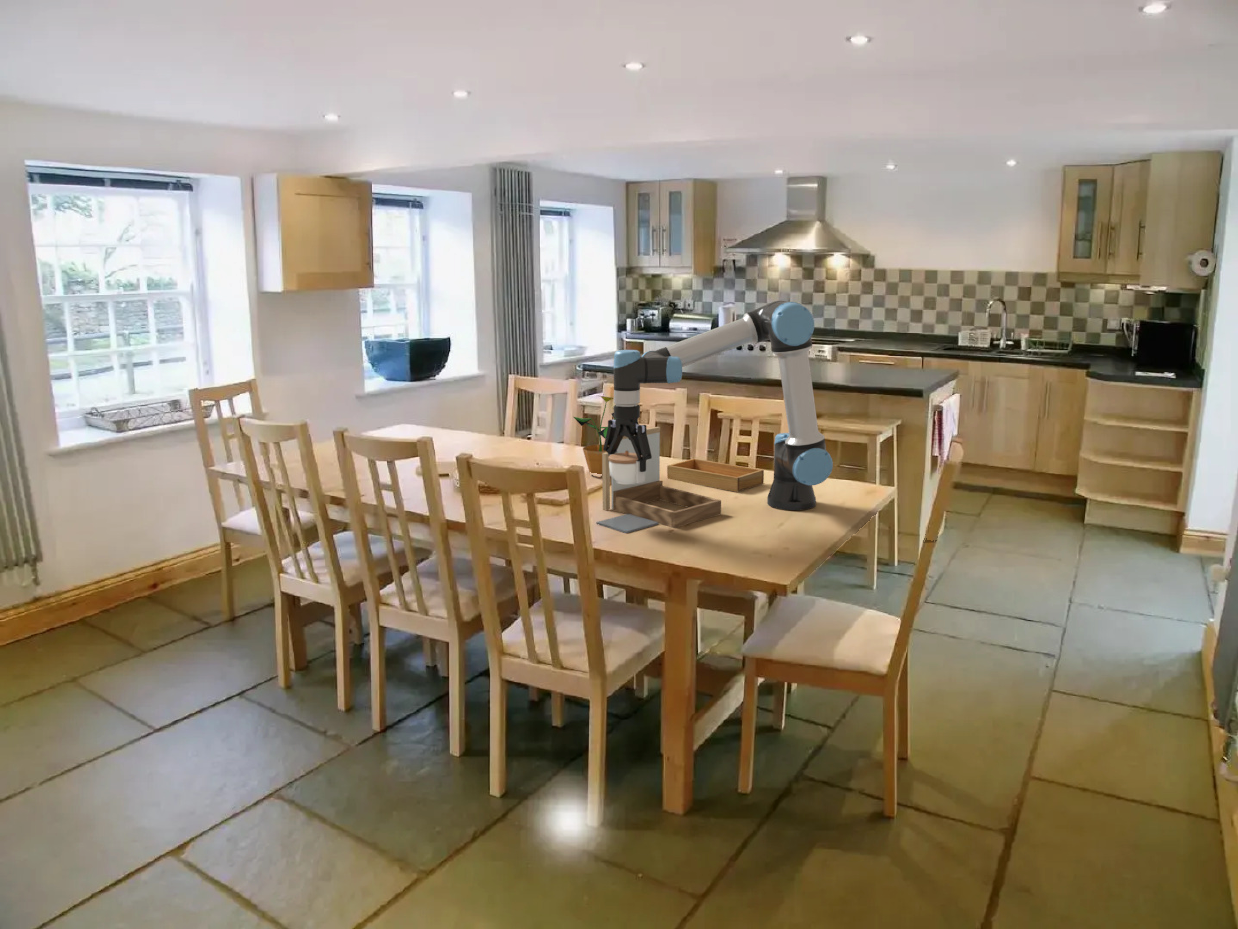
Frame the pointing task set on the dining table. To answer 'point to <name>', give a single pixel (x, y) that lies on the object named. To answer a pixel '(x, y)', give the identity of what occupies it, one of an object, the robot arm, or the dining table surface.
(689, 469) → the tray
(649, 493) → the dark wooden box
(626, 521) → the slate mat
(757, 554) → the dining table surface
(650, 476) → the white upright flat panel
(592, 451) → the potted plant
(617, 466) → the lidded jar
